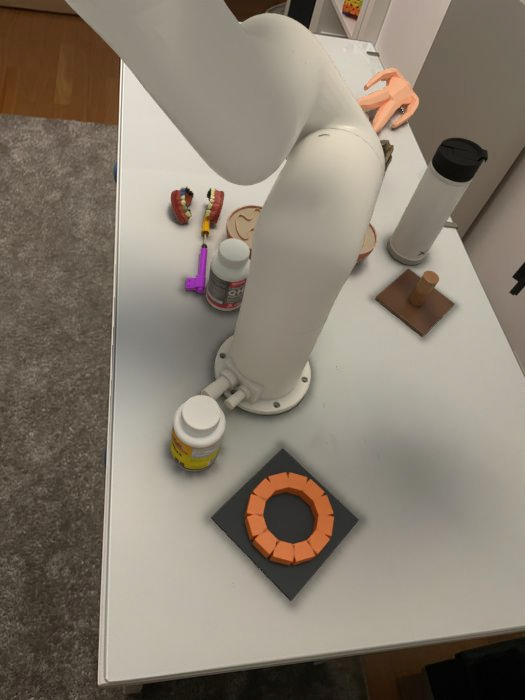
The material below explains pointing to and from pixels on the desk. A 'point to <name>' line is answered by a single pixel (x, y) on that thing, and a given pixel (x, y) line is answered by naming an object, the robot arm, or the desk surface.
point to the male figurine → (389, 98)
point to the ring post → (416, 300)
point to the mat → (283, 524)
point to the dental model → (184, 198)
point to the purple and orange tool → (200, 279)
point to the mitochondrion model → (246, 218)
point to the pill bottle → (228, 275)
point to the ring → (267, 540)
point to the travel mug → (435, 198)
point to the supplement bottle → (197, 433)
